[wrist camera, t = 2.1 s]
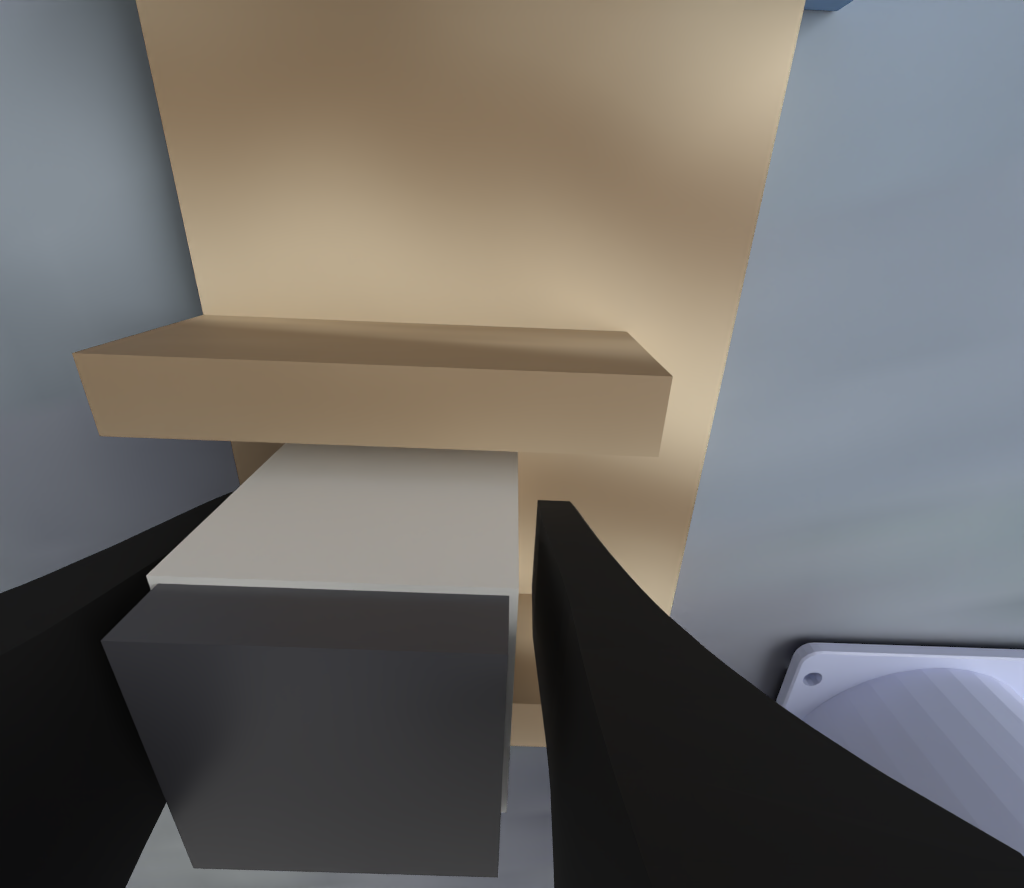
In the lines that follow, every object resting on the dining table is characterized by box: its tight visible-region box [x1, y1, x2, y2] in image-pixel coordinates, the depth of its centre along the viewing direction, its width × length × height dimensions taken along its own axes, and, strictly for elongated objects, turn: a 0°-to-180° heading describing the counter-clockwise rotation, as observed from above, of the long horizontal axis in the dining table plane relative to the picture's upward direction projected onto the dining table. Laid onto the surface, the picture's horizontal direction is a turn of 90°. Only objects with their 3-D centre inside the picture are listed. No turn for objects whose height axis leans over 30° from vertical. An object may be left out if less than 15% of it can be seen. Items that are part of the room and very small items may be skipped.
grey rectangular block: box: [101, 443, 519, 877], centre depth 8 cm, size 4×4×6 cm
